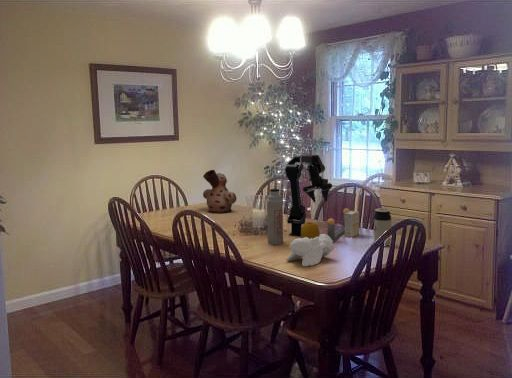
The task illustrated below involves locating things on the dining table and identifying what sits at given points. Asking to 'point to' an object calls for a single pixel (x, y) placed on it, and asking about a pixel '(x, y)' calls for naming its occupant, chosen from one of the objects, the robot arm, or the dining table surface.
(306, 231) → the apple
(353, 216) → the supplement box
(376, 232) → the travel mug
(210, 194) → the vessel
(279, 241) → the thermos bottle
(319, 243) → the cherub figurine
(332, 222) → the cord guide
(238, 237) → the dining table surface
